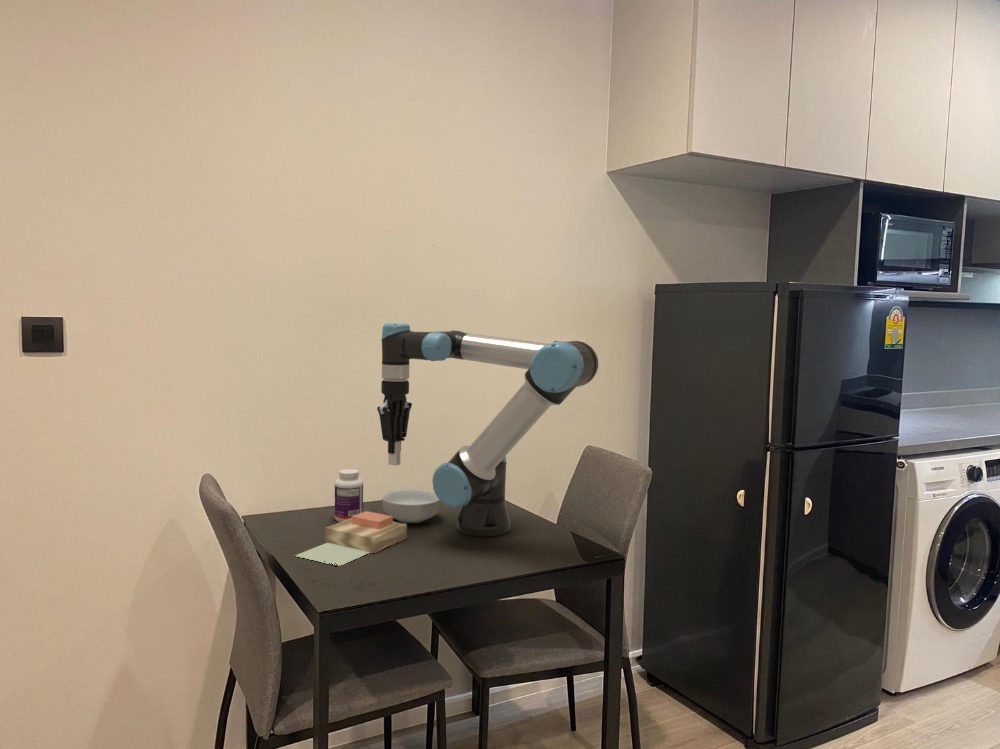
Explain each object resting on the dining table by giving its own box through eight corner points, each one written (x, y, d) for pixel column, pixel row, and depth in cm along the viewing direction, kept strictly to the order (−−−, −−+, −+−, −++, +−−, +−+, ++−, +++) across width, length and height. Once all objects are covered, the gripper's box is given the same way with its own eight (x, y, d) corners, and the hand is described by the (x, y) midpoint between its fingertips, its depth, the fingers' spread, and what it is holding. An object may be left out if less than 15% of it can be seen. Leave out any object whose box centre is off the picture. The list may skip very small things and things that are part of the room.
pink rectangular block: (392, 523, 194) (392, 516, 194) (378, 529, 189) (379, 521, 189) (366, 518, 198) (366, 511, 198) (351, 523, 193) (351, 516, 193)
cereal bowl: (385, 530, 201) (386, 505, 200) (378, 513, 217) (378, 490, 216) (445, 526, 206) (446, 502, 205) (434, 510, 222) (434, 487, 221)
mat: (370, 553, 182) (370, 552, 182) (338, 567, 172) (338, 566, 172) (327, 543, 189) (327, 542, 189) (294, 556, 178) (294, 555, 178)
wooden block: (406, 538, 194) (406, 524, 194) (373, 553, 182) (374, 538, 181) (359, 528, 202) (359, 514, 201) (325, 542, 189) (325, 527, 189)
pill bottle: (344, 514, 215) (344, 466, 213) (368, 517, 212) (368, 469, 211) (329, 522, 207) (329, 472, 206) (353, 525, 205) (353, 475, 203)
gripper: (398, 376, 206) (397, 458, 208) (368, 380, 194) (368, 467, 196) (420, 378, 202) (419, 461, 205) (391, 382, 191) (390, 470, 193)
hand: (394, 464), depth 200 cm, fingers closed
